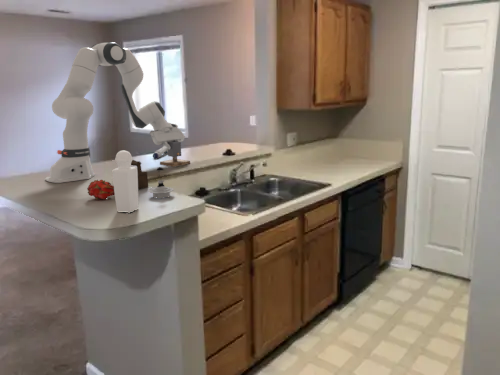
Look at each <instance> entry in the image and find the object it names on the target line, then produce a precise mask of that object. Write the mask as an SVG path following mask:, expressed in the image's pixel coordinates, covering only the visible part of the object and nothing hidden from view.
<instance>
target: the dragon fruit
mask: <svg viewBox="0 0 500 375" xmlns="http://www.w3.org/2000/svg"><path fill="white" fill-rule="evenodd" d="M87 195H88V196H90V197H94V198H95V200H98V199H101V200H105V199H106V198H108V200H111V199H112V197H114V196H115V192H114V185H112V184H111V182H110V181H106V180H103V179H100V180H98V179H94V180H93V181H91V182H90V183H89V185H88V187H87Z"/></svg>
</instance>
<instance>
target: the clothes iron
mask: <svg viewBox="0 0 500 375" xmlns="http://www.w3.org/2000/svg"><path fill="white" fill-rule="evenodd" d="M141 164H142V162H141V161H138V160H134V159H133V160H132V162H131V166H132V167H136V168H137V170H138V190H142V189H146V188H149V178H148V172H147V171H143V170H142V166H141ZM141 188H142V189H141Z"/></svg>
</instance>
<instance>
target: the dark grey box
mask: <svg viewBox="0 0 500 375" xmlns="http://www.w3.org/2000/svg"><path fill="white" fill-rule="evenodd" d="M168 144H169V145H171V147H172V149H170V150H169V149H168V154H167V157H171V158H173V157H177V158H178V157H182V142H178V141H172V142H168Z"/></svg>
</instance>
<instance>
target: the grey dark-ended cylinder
mask: <svg viewBox="0 0 500 375" xmlns="http://www.w3.org/2000/svg"><path fill="white" fill-rule="evenodd" d="M164 153H168V148H167V147H166V146H164V145H162V147H161V148H159V149H157V150H155V151H154V152H153V154H152V158H153V159H159V158H160V157H162V155H163V154H164Z"/></svg>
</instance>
